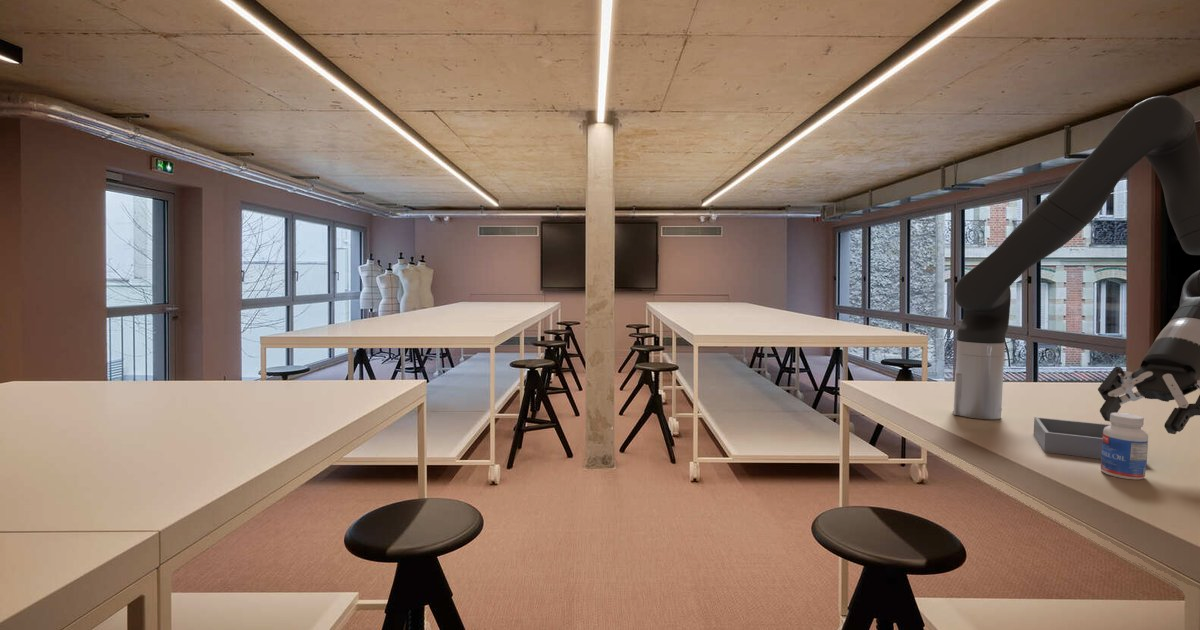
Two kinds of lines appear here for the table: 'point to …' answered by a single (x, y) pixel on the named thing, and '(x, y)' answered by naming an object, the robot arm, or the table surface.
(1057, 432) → the tray
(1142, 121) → the robot arm
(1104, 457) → the pill bottle
